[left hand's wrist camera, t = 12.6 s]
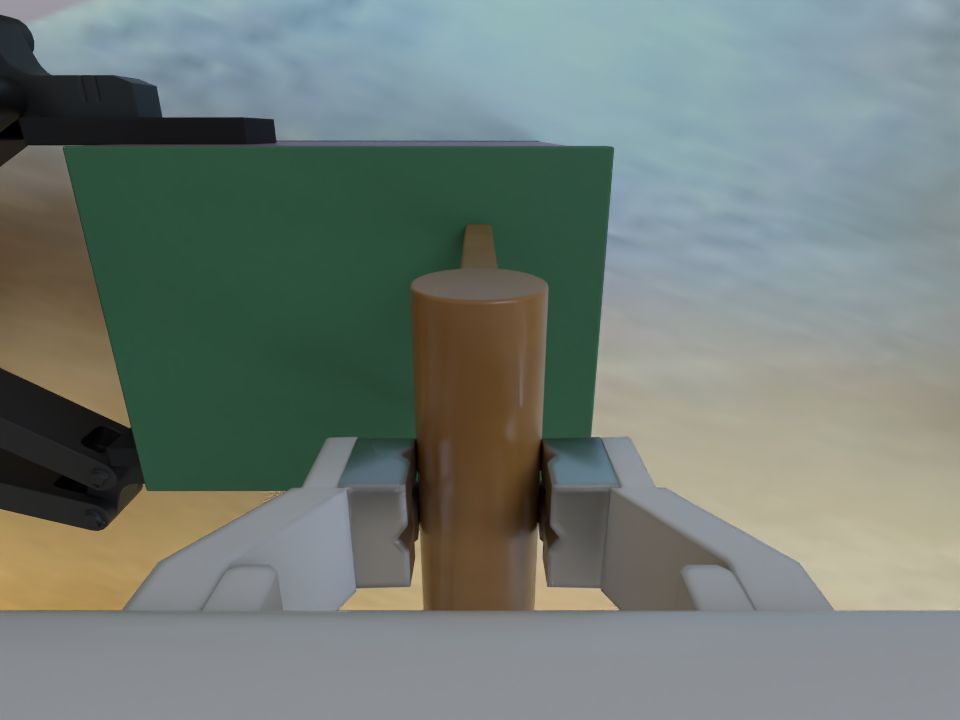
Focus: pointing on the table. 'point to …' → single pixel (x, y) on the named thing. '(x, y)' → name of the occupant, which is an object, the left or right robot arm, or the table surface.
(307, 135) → the table surface
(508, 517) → the lid
